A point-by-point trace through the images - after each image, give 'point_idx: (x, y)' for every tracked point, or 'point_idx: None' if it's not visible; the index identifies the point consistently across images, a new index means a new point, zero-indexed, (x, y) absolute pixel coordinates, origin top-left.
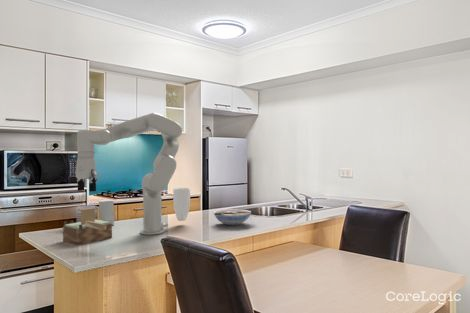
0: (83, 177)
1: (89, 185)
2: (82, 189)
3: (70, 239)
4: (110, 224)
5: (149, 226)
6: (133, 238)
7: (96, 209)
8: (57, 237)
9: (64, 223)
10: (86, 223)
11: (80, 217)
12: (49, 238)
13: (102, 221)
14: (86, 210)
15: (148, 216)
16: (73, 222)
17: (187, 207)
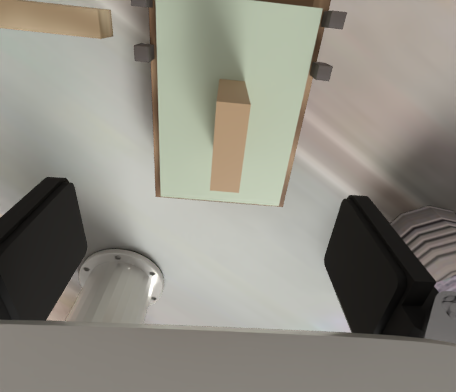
0: (20, 363)
1: (6, 228)
2: (331, 247)
3: None
4: (155, 188)
5: (94, 279)
6: (91, 197)
7: None
8: (404, 46)
9: (335, 11)
10: (83, 7)
11: (453, 239)
12: (431, 5)
13: (201, 186)
14: (215, 126)
15: (80, 311)
16: (314, 77)
17: None
